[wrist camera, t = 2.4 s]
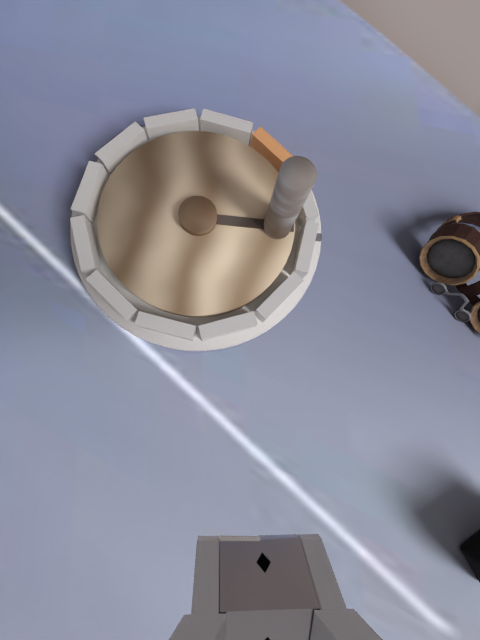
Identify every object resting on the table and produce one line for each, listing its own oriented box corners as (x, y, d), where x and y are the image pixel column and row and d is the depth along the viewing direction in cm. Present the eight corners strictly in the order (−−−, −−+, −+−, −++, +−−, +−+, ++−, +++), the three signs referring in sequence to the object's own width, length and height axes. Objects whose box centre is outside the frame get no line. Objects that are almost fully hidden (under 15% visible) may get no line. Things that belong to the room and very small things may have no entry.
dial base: (56, 341, 32) (36, 337, 29) (96, 113, 37) (83, 86, 33) (313, 361, 34) (324, 359, 30) (320, 140, 39) (331, 116, 35)
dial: (88, 308, 31) (24, 278, 21) (116, 131, 35) (73, 30, 25) (287, 325, 33) (319, 304, 22) (295, 151, 36) (326, 64, 26)
